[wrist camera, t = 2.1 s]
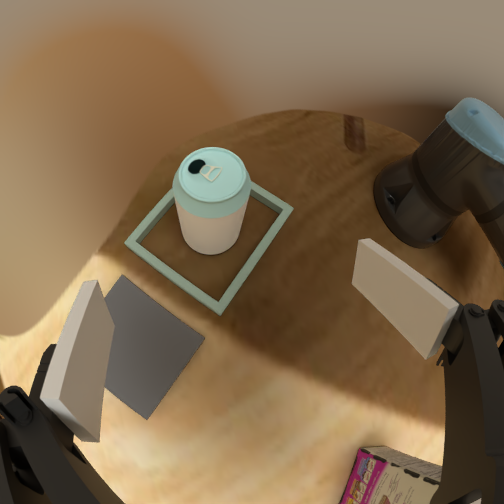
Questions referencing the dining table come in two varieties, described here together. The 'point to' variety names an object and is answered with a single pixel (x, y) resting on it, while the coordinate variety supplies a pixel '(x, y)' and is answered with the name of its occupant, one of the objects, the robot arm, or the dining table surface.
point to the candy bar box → (390, 478)
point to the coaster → (145, 348)
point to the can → (211, 199)
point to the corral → (182, 282)
